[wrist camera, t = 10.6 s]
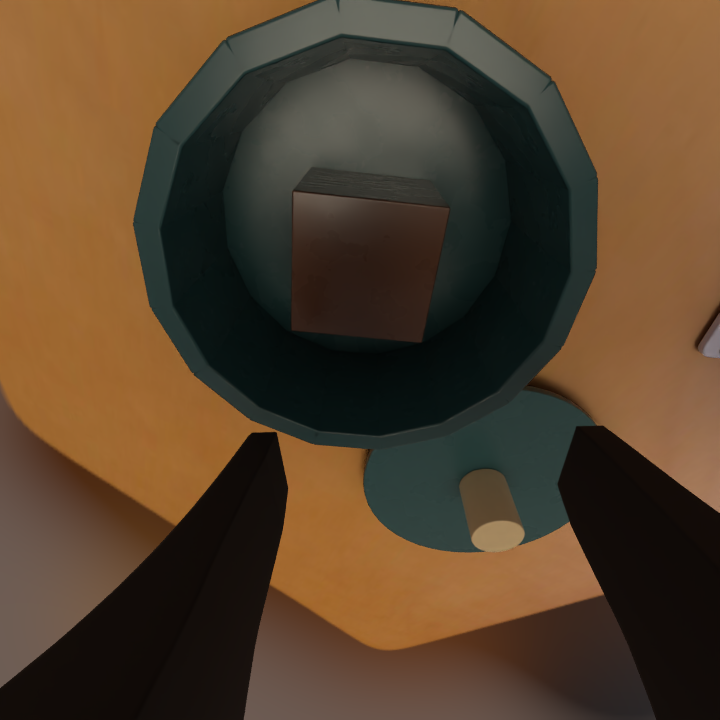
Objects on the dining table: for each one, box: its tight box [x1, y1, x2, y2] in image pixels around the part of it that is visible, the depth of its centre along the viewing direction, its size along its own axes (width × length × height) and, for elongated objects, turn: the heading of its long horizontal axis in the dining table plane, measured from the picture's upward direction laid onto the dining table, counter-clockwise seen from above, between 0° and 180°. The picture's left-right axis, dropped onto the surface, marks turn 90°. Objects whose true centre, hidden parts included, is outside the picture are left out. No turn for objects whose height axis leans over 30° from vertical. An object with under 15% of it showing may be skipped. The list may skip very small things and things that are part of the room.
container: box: [133, 0, 598, 450], centre depth 14 cm, size 12×12×6 cm
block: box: [291, 167, 450, 343], centre depth 14 cm, size 4×4×4 cm
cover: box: [363, 385, 597, 552], centre depth 22 cm, size 13×13×4 cm
